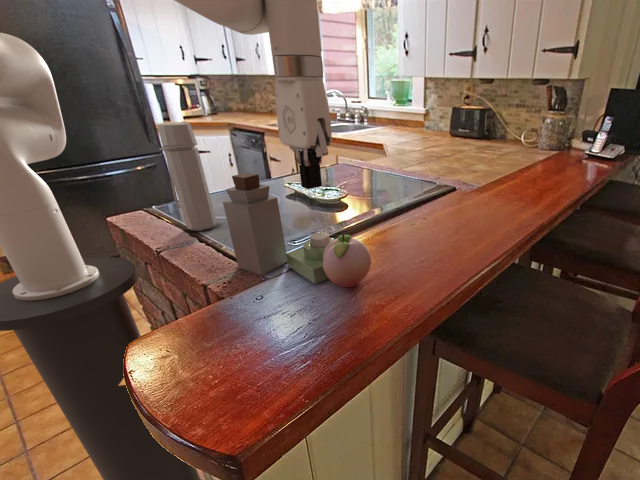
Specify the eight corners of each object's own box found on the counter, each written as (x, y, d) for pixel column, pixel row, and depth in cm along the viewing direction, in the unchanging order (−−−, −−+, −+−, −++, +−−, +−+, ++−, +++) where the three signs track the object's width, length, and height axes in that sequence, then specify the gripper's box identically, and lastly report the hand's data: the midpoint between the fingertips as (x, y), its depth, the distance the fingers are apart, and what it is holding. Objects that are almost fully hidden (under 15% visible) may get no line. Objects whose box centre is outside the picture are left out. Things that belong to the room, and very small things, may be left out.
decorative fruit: (375, 297, 61) (372, 242, 57) (326, 302, 60) (319, 247, 56) (369, 272, 70) (366, 223, 65) (326, 276, 68) (320, 226, 64)
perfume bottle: (265, 255, 77) (248, 170, 69) (287, 261, 74) (272, 173, 66) (238, 267, 72) (216, 177, 64) (261, 275, 69) (242, 181, 61)
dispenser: (288, 266, 72) (284, 243, 70) (330, 252, 78) (327, 230, 76) (315, 284, 66) (311, 259, 63) (358, 266, 72) (357, 243, 69)
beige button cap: (307, 245, 70) (306, 235, 69) (323, 240, 72) (322, 231, 71) (317, 251, 68) (316, 241, 67) (333, 245, 70) (332, 235, 69)
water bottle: (224, 222, 96) (199, 122, 85) (205, 233, 90) (175, 125, 78) (193, 221, 98) (165, 122, 87) (172, 231, 91) (139, 125, 80)
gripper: (255, 71, 59) (273, 183, 67) (302, 68, 49) (316, 199, 58) (296, 72, 64) (308, 177, 72) (347, 70, 54) (354, 191, 62)
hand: (312, 186), depth 65 cm, fingers closed
